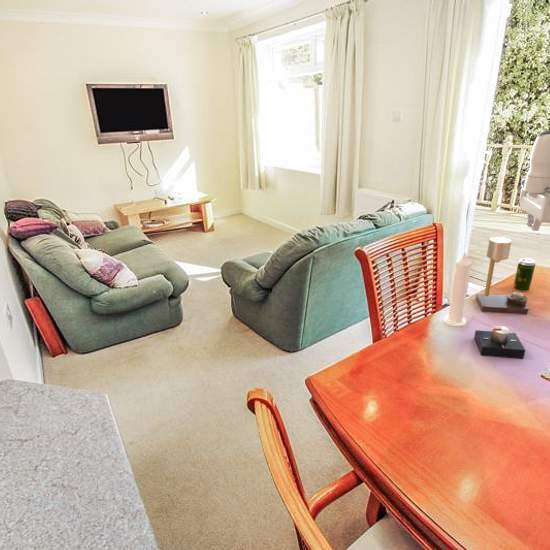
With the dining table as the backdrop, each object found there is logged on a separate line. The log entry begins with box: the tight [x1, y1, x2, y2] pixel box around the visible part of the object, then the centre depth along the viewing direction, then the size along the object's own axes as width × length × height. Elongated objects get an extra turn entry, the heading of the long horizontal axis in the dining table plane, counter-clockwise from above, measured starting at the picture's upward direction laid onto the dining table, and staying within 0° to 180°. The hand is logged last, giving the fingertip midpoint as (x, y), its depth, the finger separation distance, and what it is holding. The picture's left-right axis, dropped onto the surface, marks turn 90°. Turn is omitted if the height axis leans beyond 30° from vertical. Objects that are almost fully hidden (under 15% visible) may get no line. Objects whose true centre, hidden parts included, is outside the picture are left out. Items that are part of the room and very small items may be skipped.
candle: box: [443, 252, 472, 328], centre depth 121 cm, size 7×7×25 cm
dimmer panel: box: [473, 329, 526, 360], centre depth 111 cm, size 11×9×3 cm
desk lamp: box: [483, 236, 512, 297], centre depth 129 cm, size 6×6×21 cm
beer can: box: [512, 257, 536, 293], centre depth 142 cm, size 5×5×12 cm
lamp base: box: [475, 292, 529, 315], centre depth 133 cm, size 15×10×4 cm
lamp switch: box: [512, 291, 524, 300], centre depth 131 cm, size 3×3×2 cm
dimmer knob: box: [491, 325, 511, 344], centre depth 110 cm, size 4×4×4 cm
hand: (532, 228), depth 121 cm, fingers open, 3 cm apart
